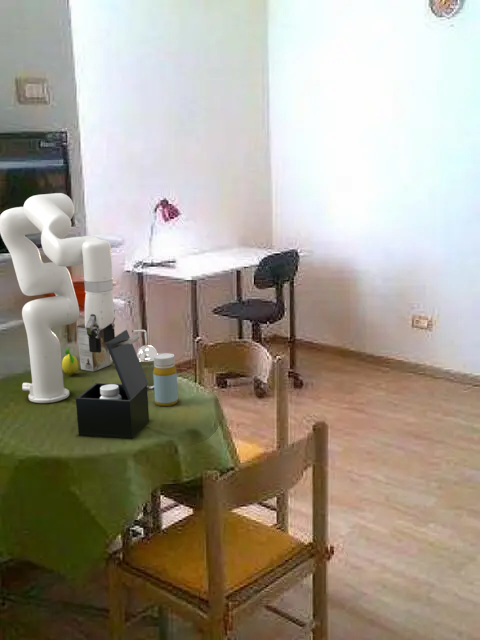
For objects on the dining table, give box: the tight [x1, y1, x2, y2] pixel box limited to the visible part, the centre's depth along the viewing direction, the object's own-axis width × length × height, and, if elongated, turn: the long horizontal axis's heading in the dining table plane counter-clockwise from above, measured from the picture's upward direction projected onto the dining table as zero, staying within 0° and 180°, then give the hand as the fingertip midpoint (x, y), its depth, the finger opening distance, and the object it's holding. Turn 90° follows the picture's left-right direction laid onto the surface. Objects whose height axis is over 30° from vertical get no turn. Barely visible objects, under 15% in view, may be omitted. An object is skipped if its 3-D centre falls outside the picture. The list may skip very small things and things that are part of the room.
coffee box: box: [76, 322, 112, 373], centre depth 274 cm, size 9×6×16 cm
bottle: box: [153, 352, 179, 407], centre depth 235 cm, size 7×7×15 cm
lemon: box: [61, 347, 79, 376], centre depth 266 cm, size 7×6×10 cm
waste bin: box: [75, 382, 150, 440], centre depth 217 cm, size 16×14×11 cm
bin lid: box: [106, 329, 148, 400], centre depth 212 cm, size 16×14×6 cm
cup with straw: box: [131, 329, 159, 390], centre depth 250 cm, size 8×9×20 cm
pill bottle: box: [100, 383, 122, 400], centre depth 217 cm, size 6×6×11 cm
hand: (102, 346), depth 214 cm, fingers open, 9 cm apart
